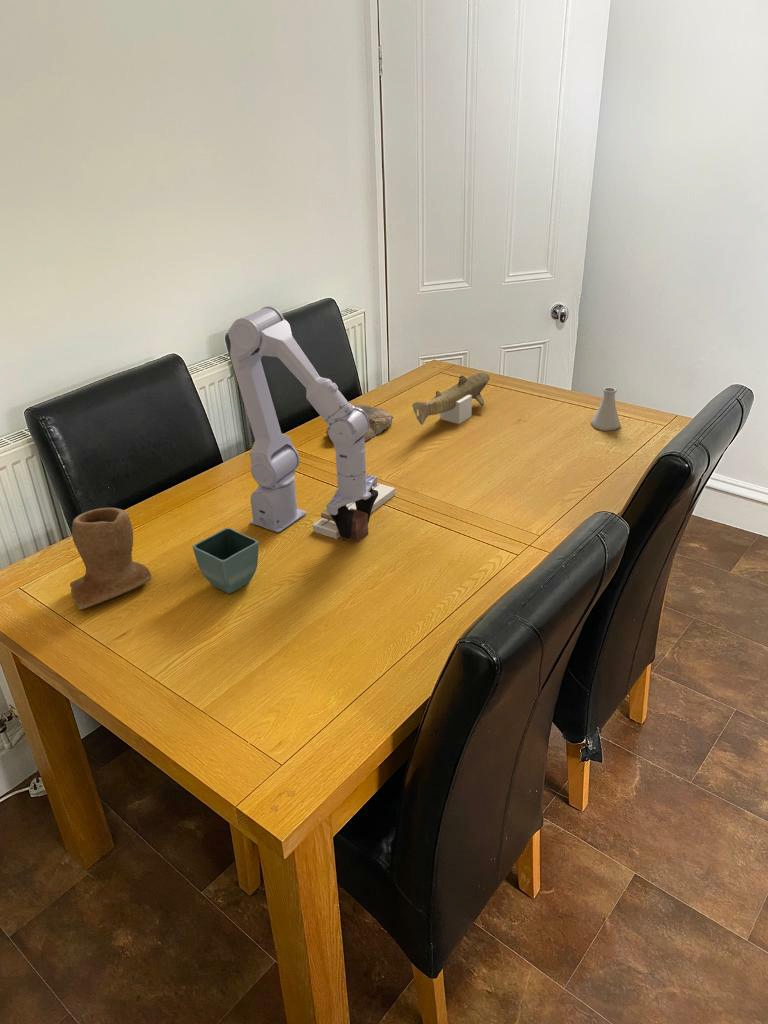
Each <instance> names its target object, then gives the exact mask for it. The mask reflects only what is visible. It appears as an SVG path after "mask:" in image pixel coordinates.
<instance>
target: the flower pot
mask: <svg viewBox="0 0 768 1024" xmlns="http://www.w3.org/2000/svg"><path fill="white" fill-rule="evenodd" d="M259 545H260V544H259V540H257V539H255V538H253V537H251V536H248V535H246V534H244V533H241V532H239V531H238V530H236V529H233V528H231V527H226V528H225V527H224V528H223V529H221V530H219V531H218V532H216V533H214V534H211V535H210V536H208V537H206V538H204V539H202V540H201V541H198V542H197V543H195V544H193V545H192V547H191V548H192V550H193V553H194V556H195V560H196V562H197V566H198V568H199V570H200V572H201V574H202V575H203V577H204V579H206V580H207V581H208V582H209V583H210V585H212V586H213V587H215V588H217V589H220V591H223V592H225V593H226V594H233V593H234V592H236V591H237V590H239V589H241V588H242V587H244V586H246V585H247V584H250V582H251V580H252V579H253V577H254V575H255V573H256V571H257V568H258V564H259V563H258V562H259Z"/></svg>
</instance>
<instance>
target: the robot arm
mask: <svg viewBox="0 0 768 1024" xmlns="http://www.w3.org/2000/svg"><path fill="white" fill-rule="evenodd" d="M227 335H228V339H229V343H230V351H229V355H230V356H229V358H230V360H231V365H232V366H233V367H232V368H233V371H234V373H235V377H236V380H237V384H238V387H239V391H240V394H241V398H242V401H243V404H244V407H245V411H246V413H247V414H246V415H247V417H248V421H249V424H250V429H251V430H252V434H253V437H254V441H253V442H254V443H253V444H252V448H251V450H250V451H249V457H250V461H251V462H250V463H251V464H250V465H251V466H250V474H251V477H252V478H253V480H254V481H255V482H256V483H257V484H258V486H257V488H256V489H255V490H254V491H253V492H252V494H250V506H251V507H250V509H251V515H252V519H251V520H250V524H253V525H255V526H259V527H261V528H263V529H267V530H269V531H272V532H275V533H280V532H282V531H283V530H285V529H287V528H288V527H290V525H292V524H294V523H295V522H296V521H298V520H299V519H301V518H302V517H304V516H306V514H307V511H306V510H303V509H300V508H298V504H297V503H298V502H297V491H296V482H295V481H296V480H295V475H296V469H297V468H298V467H299V466H300V462H301V461H300V460H301V457H300V454H299V451H298V450H297V448H296V447H295V446H294V444H293V442H292V439H291V437H290V436H288V435H287V434H284V433H283V432H282V430H281V427H280V423H279V419H278V416H277V412H276V409H275V406H274V402H273V398H272V396H271V395H272V394H271V392H270V388H269V384H268V381H267V377H266V374H265V371H264V366H263V363H262V360H261V359H262V357H275V358H278V359H279V361H280V362H282V363H283V364H284V366H285V367H286V368H287V369H288V370H289V372H291V373H292V374H293V376H294V377H295V378H296V379H297V380H298V381H299V382H300V383H301V384H302V386H304V388H305V389H306V395H305V397H306V400H307V401H308V402H309V404H310V405H311V406H312V407H313V408H314V410H315V411H316V412H317V413H318V415H319V416H320V417H321V418H322V420H323V421H324V422H325V423H326V425H327V426H328V427H330V429H329V430H328V435H329V436H328V435H327V436H328V437H329V439H330V441H331V442H332V444H333V447H334V451H335V462H336V464H335V465H336V467H335V468H336V479H337V489H336V491H335V492H334V494H333V495H332V497H331V499H330V501H329V502H328V503H326V505H325V506H326V511H327V513H329V514H330V515H331V517H332V518H333V520H334V522H335V524H336V526H337V528H338V531H339V534H340V537H339V538H341V537H343V538H346V539H349V538H350V536H351V523H352V518H353V515H354V513H355V511H352V510H349V509H348V507H347V506H346V505H347V504H350V503H353V502H355V505H356V510H359V511H362V512H365V513H367V514H368V524H369V522H370V518H371V516H372V515H371V514H372V513H371V511H372V507H373V505H374V502H375V500H376V498H377V497H378V491H377V490H373V489H372V486H373V487H375V486H376V485H377V483H378V476H375V475H371V474H368V475H367V462H366V461H367V460H366V441H365V437H364V436H363V435H364V434H365V433H366V432H367V431H368V429H369V419H368V417H367V415H366V414H365V412H364V411H363V410H362V409H360V408H358V407H355V406H356V405H353V403H350V402H349V401H348V400H347V399H346V398H345V396H344V394H342V392H341V391H340V390H339V387H338V385H337V384H336V382H333V381H332V380H331V379H330V378H327V377H322V376H320V375H319V373H318V371H317V370H316V368H315V367H314V365H313V364H312V363H311V361H310V360H309V359H308V357H307V355H306V354H305V353H304V351H303V350H302V348H301V346H300V345H299V344H298V343H297V340H296V339H295V338H294V337H293V333H292V329H291V325H290V323H289V322H288V321H287V320H286V319H285V318H284V316H283V314H282V312H281V311H280V310H279V309H277V308H276V307H274V306H270V305H268V306H263V307H262V308H260V309H259V310H257V311H255V312H253V313H250V314H248V315H246V316H243V317H240V318H237V319H235V321H233V322H232V325H231V326H230V328H229V329H228V330H227ZM362 436H363V437H362ZM343 538H342V539H343ZM346 539H345V540H346Z"/></svg>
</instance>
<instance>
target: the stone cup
mask: <svg viewBox="0 0 768 1024" xmlns="http://www.w3.org/2000/svg"><path fill="white" fill-rule="evenodd" d="M71 537H72V541H73V543H74V545H75V548H76V550H77V552H78V554H79V556H80V558H81V561H82V562H83V564H84V566H85V567H84V568H85V574H84V575H83V576H81V577H80V578H78V579H75V580H72V581H71V582H69V586H70V588H71V589H70V592H71V595H72V600H73V601H74V604H75V606H76V608H77V609H78V610H80V611H81V610H85V609H87V608H90V607H92V606H96V605H97V604H101V603H103V602H105V601H108V600H111V599H113V598H116V597H118V596H121V595H123V594H125V593H128V592H130V591H132V590H134V589H137V588H138V587H141V586H142V585H145V584H146V583H148V582H150V580H151V579H152V573H151V571H150V570H149V568H148V567H146V565H144V564H142V563H139V562H137V561H133V556H132V555H133V554H132V553H133V547H134V530H133V525H132V522H131V518H130V515H129V514H128V513H127V512H126V511H125V510H124V509H121V508H117V507H103V508H102V507H101V508H100V507H99V508H96V509H91V510H88V511H86V512H85V511H84V512H82V513H80V514H78V515H77V516H76V517H75V518H74V519H73V521H72V525H71Z"/></svg>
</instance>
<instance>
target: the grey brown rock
mask: <svg viewBox="0 0 768 1024" xmlns="http://www.w3.org/2000/svg"><path fill="white" fill-rule="evenodd" d="M354 406H355V407H358V408H360V409H362V410H363V411H364V412H365V414H366V415H367V417H368V419H369V429H368V431H367V432H366V433H365V434H364V435H363V436H364V437H365V442H366V441H369V440H371V439H373V438H375V437H376V436H377V435H379V434H381V433H383V431H384V430H386V429H388V428H389V427H390V426H391V425H392V423H393V419H394V415H393V414H391V413H389V412H387V410H385V409H384V408H380V407H374V406H369V405H367V404H364V405H363V404H358V405H354ZM329 429H330V427H329V426H328V427H327V429H326V430H325V434H326V435H327V436H328V437H329V435H328V430H329ZM363 436H362V437H363Z"/></svg>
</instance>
